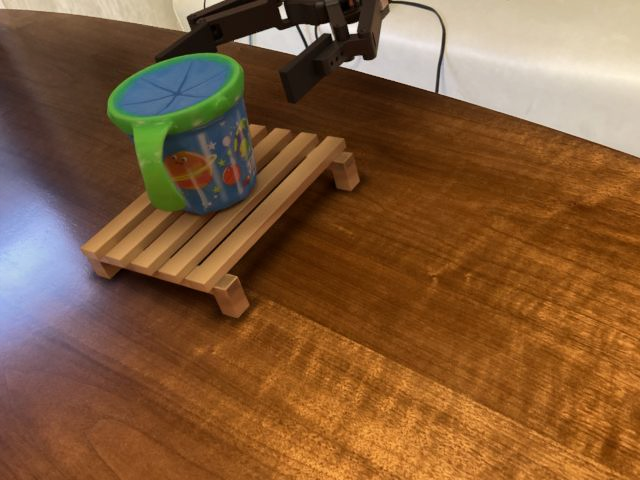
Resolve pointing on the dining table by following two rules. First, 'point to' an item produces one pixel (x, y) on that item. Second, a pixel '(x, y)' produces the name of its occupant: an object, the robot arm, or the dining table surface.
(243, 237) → the rack
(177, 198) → the snack cup
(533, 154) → the dining table surface
